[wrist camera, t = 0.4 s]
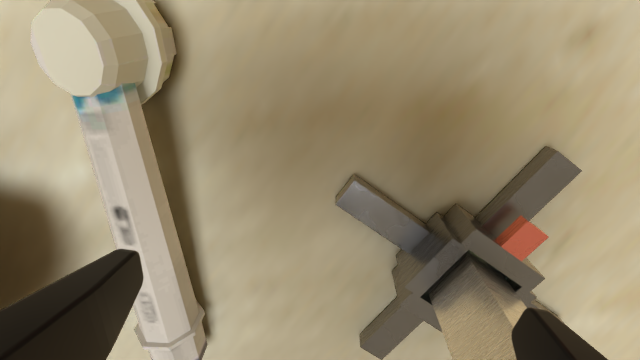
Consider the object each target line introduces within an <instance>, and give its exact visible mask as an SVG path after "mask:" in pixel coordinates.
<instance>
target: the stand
mask: <svg viewBox="0 0 640 360" xmlns="http://www.w3.org/2000/svg"><path fill="white" fill-rule="evenodd" d="M581 171H582V170H581V169H579V168H578V167H577V166H576V165H574V164H573V163H572V162H571V161H569V160H568V159H567V158H566V157H564V156H563V155H562V154H561V153H559V152H558V151H556V150H554V149H551V148H549V147H547V146H546V147H545V148H544V149H543V150H542V151H541V152H540V153H539V154H538V155H537V156H536V157H535V158H534V159H533V160H532V161H531V162H530V163H529V164H528V165H527V166H526V167H525V168H524V169H523V170H522V171H521V172H520V173H519V174H518V175H517V176H516V177H515V178H514V179H513V180H512V181H511V182H510V183H509V184H508V185H507V186H506V187H505V188H504V189H503V190H502V191H501V192H500V193H499V194H498V195H497V196H496V197H495V198H494V199H493V200H492V201H491V202H490V203H489V204H488V205H487V206H486V207H485V208H484V209H483V210H482V211H481V212H480V213H479V214H478V215H477V216H476V217H474V216H472V215H471V214H470V213H468V212H467V211H465V210H464V209H463V208H461V207H460V206H459V205H457V204H455V205H454V206H453V207H452V208H451V209H450V210H449V211H448V212H447V214H446V215H445V216H444V217H443V216H441V215H440V214H439V213H437V212H436V213H435V214H434V215H433V216H432V217H431V218H430V219H429V221H428V222H427V223H426V224H425V223H423V222H422V221H421V220H419V219H418V218H416V217H415V216H413V215H412V214H410V213H409V212H408V211H406V210H405V209H403V208H402V207H400V206H399V205H398V204H396V203H395V202H393V201H392V200H390V199H389V198H388V197H386V196H385V195H383V194H382V193H380V192H379V191H377V190H376V189H375V188H373V187H372V186H370V185H369V184H367V183H366V182H365V181H363V180H362V179H360V178H359V177H357V176H356V175H355V174H354V175H353V176H352V177H351V179H350V180H349V181H348V182H347V184H346V185H345V186H344V187H343V189H342V190H341V191H340V192H339V194H338V195H337V196H336V205H337V206H339V207H340V208H342V209H343V210H345V211H346V212H348V213H349V214H351V215H352V216H354V217H355V218H357V219H358V220H359V221H361V222H362V223H364V224H365V225H367V226H368V227H370V228H371V229H373V230H374V231H376V232H377V233H379V234H380V235H382V236H383V237H385V238H386V239H388V240H389V241H391V242H392V243H394V244H395V245H397V246H398V247H400V248H401V249H402V250H401V251H400V252H399V253H398V254H397V255H396V258H397V262H398V265H397V266H396V267H395V269H394V270H393V271H392V275H393V279H394V284H395V288H396V292H397V297H396V298H395V299H394V300H393V301H392V302H391V303H390V304H389V306H388V307H387V308H386V309H385V310H384V311H383V312H382V313H381V314H380V315H379V316H378V317H377V318H376V319H375V320H374V321H373V322H372V323H371V324H370V325H369V326H368V327H367V328H366V329H365V330H364V331H363V332H362V333H361V334H360V347H361V348H363V349H364V350H366V351H368V352H369V353H371V354H373V355H374V356H376V357H378V358H379V359H381V360H382V359H383V358H384V357H385V356H386V355H387V354H388V353H390V352H391V351H392V350H393V349H394V348H395V347H396V346H397V345H398V344H399V343H400V342H401V341H402V340H403V339H404V338H405V337H406V336H408V335H409V334H410V333H411V332H412V331H413V330H414V329H415V328H416V327H417V326H418V325H419V324H420V323H421V322H422V321H423V320H424V321H425V322H427V323H428V324H430V325H432V326H433V327H435V328H436V329H438V330H439V331H441V332H442V329H441V326H440V324H439V321H438V318H437V316H436V313H435V310H434V307H433V305H432V302H431V299H430V297H429V294H428V291H427V290H428V289H429V288H430V287H431V286H432V285H433V284H434V283H435V282H436V281H437V280H438V279H439V278H440V277H441V276H442V275H443V274H444V273H445V272H446V271H447V270H448V269H449V268H450V267H451V266H452V265H453V264H454V263H455V262H456V261H457V260H459V259H460V258H461V257H462V256H463V255H464V254H465V253H466V252H467V251H468V250H470V251H472V252H473V253H474V254H476V255H477V256H479V257H480V258H482V259H483V260H484V261H486V262H487V263H489V264H490V265H492V266H493V267H494V268H496V269H497V270H499V271H500V272H501V274H502V275H503V276H504V278H505V279H506V280H507V282H508V283H509V284H510V286H511V287H512V288H513V290H514V291H515V292H516V294H517V295H518V296H519V298H520V299H521V300H522V302H523V303H524V305H525V306H526V307H527V308H530V307H531V308H538V309H545V310H547V311H549V312H550V313H552V314H553V315H554V316H555V317H557V318H558V319H559V320H560V321H561V322H563V321H562V320H561V319H560V318H559V317H558V316H557V315H555V314H554V313H553V312H551V311H550V310H548V309H547V308H545V307H544V306H543V305H541V304H540V303H538V302H537V301H535V300H534V299H535V298H536V296H535V294H534V293H533V292H532V291H531V290H532V289H534V288H535V287H536V286H537V285H538V284H539V283H541V282H542V281H543V280H544V279H545V278H544V277H543V275H542V274H541V273H540V272H539V271H538V270H537V269H536V268H535V267H534V266H533V265H532V264H531V263H530V261H529V260H528V259H527V258H526V257H527V256H528V255H529V254H530V253H532V252H533V251H534V250H535V249H536V248H537V247H538V246H539V245H540V244H541V243H543V242H544V241H545V240H546V239H547V238H548V236H547V235H546V234H545V233H544V232H543V231H541V230H540V229H539V228H537V227H536V226H535V225H533V224H532V223H531V222H529V220H530V219H532V218H533V217H534V216H535V215H536V214H537V213H538V212H539V211H540V210H541V209H542V208H543V207H544V206H545V205H546V204H547V203H548V202H550V201H551V200H552V199H553V198H554V197H555V196H556V195H557V194H558V193H559V192H560V191H561V190H562V189H563V188H564V187H565V186H567V185H568V184H569V183H570V182H571V181H572V180H573V179H574V178H575V177H576V176H577V175H578V174H579V173H580V172H581ZM442 333H443V332H442Z"/></svg>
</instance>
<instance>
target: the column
mask: <svg viewBox="0 0 640 360" xmlns="http://www.w3.org/2000/svg"><path fill="white" fill-rule="evenodd" d="M427 291H428V294H429V297H430V299H431V302H432V305H433V307H434V310H435V313H436V316H437V318H438V321H439V324H440V326H441V329H442V332H443V334H444V337H445V340H446V343H447V345H448V348H449V351H450V353H451V356H452V359H453V360H516V356H515V352H514V348H513V344H512V338H511V334H512V329H513V328H514V326H515V324H516V323H517V321H518V320H519V318H520V316H521V315H522V313H523V311H524V310H525V309H527V307H526V306H525V305H524V303H523V302H522V300H521V299H520V298H519V296H518V295H517V294H516V292H515V291H514V290H513V288H512V287H511V286H510V284H509V283H508V282H507V280H506V279H505V278H504V276H503V275H502V274H501V272H500V271H499V270H497V269H496V268H494V267H493V266H492V265H490V264H489V263H487V262H486V261H484V260H483V259H482V258H480V257H479V256H477V255H476V254H474V253H473V252H472V251H470V250H468V251H467V252H466V253H465V254H464V255H463V256H462V257H461V258H460V259H459V260H457V261H456V262H455V263H454V264H453V265H452V266H451V267H450V268H449V269H448V270H447V271H446V272H445V273H444V274H443V275H442V276H441V277H440V278H439V279H438V280H437V281H436V282H435V283H434V284H433V285H432V286H431V287H430V288H429V289H428V290H427Z"/></svg>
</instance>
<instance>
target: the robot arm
mask: <svg viewBox="0 0 640 360" xmlns="http://www.w3.org/2000/svg"><path fill="white" fill-rule="evenodd" d="M143 278H144V277H143V270H142V265H141V259H140V255H139V253H138V252H137V251H135V250H128V249H117V250H115V251H113V252H111V253H109V254H107V255H105V256H103V257H101V258H100V259H98V260H96V261H94V262H92V263H90V264H88V265H86V266H84V267H82V268H80V269H78V270H77V271H75V272H73V273H71V274H69V275H67V276H65V277H63V278H61V279H59V280H57V281H56V282H54V283H52V284H50V285H48V286H46V287H44V288H42V289H40V290H38V291H36V292H34V293H33V294H31V295H29V296H27V297H25V298H23V299H21V300H19V301H17V302H15V303H13V304H11V305H10V306H8V307H6V308H4V309H2V310H0V360H106V359H107V357H108V355H109V353H110V352H111V350H112V348H113V346H114V344H115V342H116V340H117V338H118V336H119V333H120V331H121V329H122V327H123V325H124V323H125V321H126V319H127V317H128V314H129V312H130V310H131V308H132V306H133V304H134V302H135V300H136V298H137V295H138V293H139V291H140V289H141V287H142V284H143ZM511 338H512V344H513V348H514V352H515V356H516V360H608V359H607V358H605V357H604V356H603V355H602V354H600V353H599V352H598V351H597V350H596V349H594V348H593V347H592V346H591V345H589V344H588V343H587V342H586V341H585V340H583V339H582V338H581V337H580V336H579V335H577V334H576V333H575V332H574V331H572V330H571V329H570V328H569V327H568V326H566V325H565V324H564V323H563V322H561V321H560V320H559V319H558V318H557V317H555V316H554V315H553V314H552V313H550V312H549V311H547V310H545V309H538V308H531V307H530V308H527V309H525V310H524V311H523V313H522V315H521V316H520V318H519V320H518V321H517V323H516V324H515V326H514V328H513V329H512V334H511Z"/></svg>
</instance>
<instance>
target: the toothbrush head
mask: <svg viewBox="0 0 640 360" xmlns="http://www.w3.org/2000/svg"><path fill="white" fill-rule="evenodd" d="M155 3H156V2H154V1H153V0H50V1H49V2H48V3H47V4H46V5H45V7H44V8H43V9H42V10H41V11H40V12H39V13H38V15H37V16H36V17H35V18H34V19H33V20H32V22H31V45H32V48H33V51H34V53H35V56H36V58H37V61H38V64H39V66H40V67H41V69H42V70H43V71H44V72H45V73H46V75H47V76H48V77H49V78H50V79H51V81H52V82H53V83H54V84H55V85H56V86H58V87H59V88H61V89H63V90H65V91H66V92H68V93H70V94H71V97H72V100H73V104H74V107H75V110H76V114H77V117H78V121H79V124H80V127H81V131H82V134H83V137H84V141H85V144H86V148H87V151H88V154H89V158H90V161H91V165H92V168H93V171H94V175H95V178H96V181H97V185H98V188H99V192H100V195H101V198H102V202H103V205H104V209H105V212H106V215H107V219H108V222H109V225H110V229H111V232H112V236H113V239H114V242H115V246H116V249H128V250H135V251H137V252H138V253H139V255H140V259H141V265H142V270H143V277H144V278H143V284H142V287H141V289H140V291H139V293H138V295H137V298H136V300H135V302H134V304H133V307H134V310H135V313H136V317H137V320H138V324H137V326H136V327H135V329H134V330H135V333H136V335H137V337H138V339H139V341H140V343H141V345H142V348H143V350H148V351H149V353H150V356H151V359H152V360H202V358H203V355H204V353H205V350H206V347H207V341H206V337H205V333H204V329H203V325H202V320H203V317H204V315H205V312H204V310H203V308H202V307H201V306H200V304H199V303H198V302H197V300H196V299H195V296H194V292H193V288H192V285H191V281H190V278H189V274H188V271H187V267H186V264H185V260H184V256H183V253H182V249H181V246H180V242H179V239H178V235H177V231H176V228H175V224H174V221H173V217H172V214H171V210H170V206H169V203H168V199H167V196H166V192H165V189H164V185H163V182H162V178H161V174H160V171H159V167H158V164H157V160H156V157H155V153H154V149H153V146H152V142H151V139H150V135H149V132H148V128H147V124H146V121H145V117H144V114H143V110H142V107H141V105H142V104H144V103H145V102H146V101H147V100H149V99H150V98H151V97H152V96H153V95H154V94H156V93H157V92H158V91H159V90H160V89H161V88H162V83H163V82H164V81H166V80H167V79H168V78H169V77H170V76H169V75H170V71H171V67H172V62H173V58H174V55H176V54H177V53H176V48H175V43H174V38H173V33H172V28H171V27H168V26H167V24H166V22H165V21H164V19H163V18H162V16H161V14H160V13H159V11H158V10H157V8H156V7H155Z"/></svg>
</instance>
